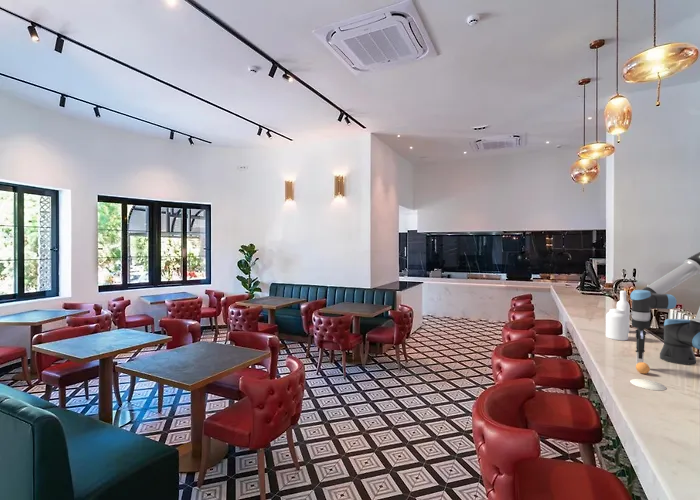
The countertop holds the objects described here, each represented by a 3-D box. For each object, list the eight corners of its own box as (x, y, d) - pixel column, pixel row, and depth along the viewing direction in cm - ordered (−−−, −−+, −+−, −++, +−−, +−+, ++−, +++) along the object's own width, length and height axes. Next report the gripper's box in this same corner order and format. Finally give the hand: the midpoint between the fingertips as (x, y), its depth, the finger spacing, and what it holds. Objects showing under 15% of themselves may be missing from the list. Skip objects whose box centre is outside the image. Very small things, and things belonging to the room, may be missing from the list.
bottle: (623, 333, 260) (624, 291, 260) (613, 330, 268) (613, 290, 267) (632, 332, 262) (632, 291, 262) (621, 329, 270) (622, 289, 269)
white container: (601, 337, 251) (601, 308, 250) (612, 335, 256) (612, 306, 256) (621, 341, 239) (621, 311, 239) (632, 339, 245) (632, 309, 244)
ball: (648, 372, 184) (649, 361, 184) (650, 376, 179) (650, 365, 179) (635, 370, 187) (635, 360, 187) (636, 373, 182) (636, 363, 182)
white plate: (663, 382, 171) (663, 382, 171) (668, 392, 160) (668, 392, 160) (628, 377, 178) (628, 377, 178) (631, 386, 167) (631, 386, 167)
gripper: (630, 316, 198) (629, 359, 198) (633, 321, 187) (632, 366, 187) (648, 318, 193) (647, 361, 194) (651, 322, 183) (650, 369, 183)
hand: (639, 364), depth 191 cm, fingers closed
